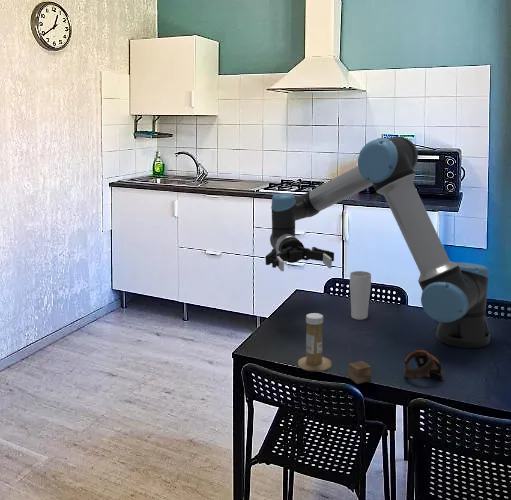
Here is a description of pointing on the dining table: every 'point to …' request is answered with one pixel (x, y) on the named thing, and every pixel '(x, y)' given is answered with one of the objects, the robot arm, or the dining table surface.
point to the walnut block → (360, 372)
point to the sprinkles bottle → (314, 338)
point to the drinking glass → (360, 294)
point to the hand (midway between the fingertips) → (306, 265)
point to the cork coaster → (321, 367)
